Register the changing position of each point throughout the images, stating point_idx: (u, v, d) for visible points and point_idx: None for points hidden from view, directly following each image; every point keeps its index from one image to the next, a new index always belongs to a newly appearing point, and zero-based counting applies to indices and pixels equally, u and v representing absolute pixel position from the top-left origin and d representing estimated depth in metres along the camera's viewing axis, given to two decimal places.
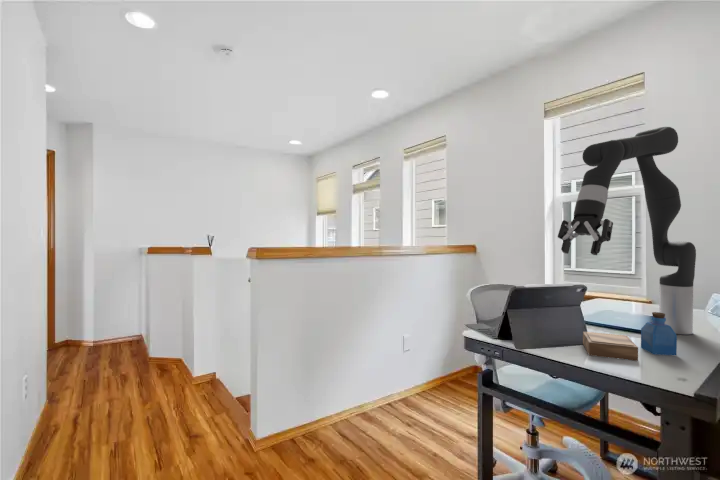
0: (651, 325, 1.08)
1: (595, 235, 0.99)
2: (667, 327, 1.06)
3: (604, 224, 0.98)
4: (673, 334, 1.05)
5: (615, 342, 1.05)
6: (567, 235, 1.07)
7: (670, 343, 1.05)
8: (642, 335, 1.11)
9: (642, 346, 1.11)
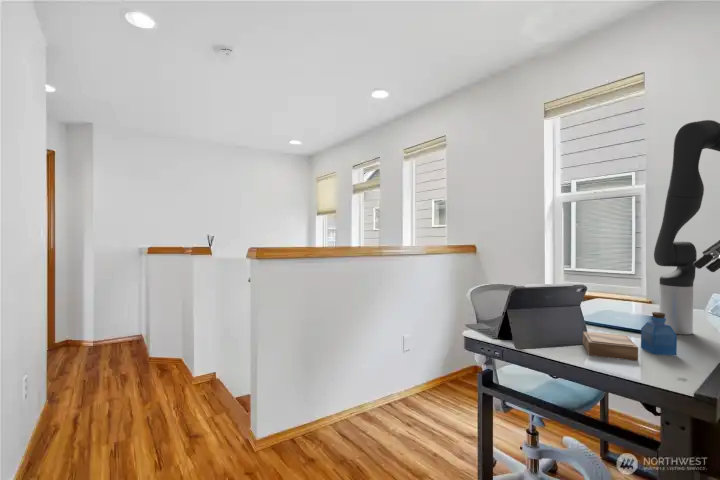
0: (651, 325, 1.08)
1: None
2: (667, 327, 1.06)
3: None
4: (673, 334, 1.05)
5: (615, 342, 1.05)
6: None
7: (670, 343, 1.05)
8: (642, 335, 1.11)
9: (642, 346, 1.11)
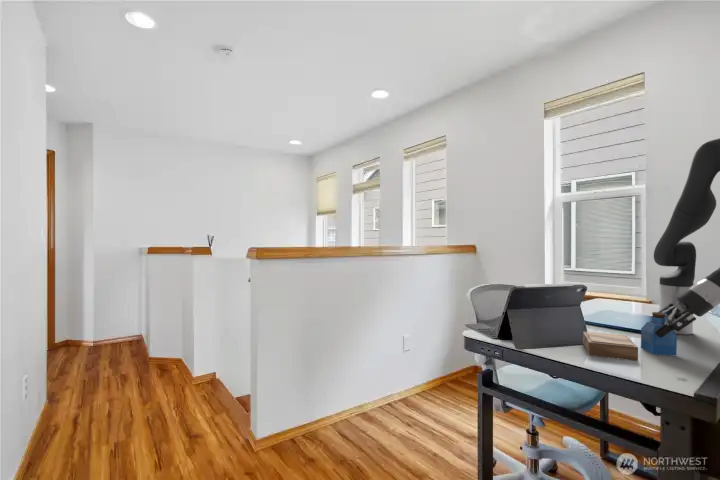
0: (651, 325, 1.08)
1: None
2: None
3: None
4: (673, 334, 1.05)
5: (615, 342, 1.05)
6: None
7: (670, 343, 1.05)
8: (642, 335, 1.11)
9: (642, 346, 1.11)
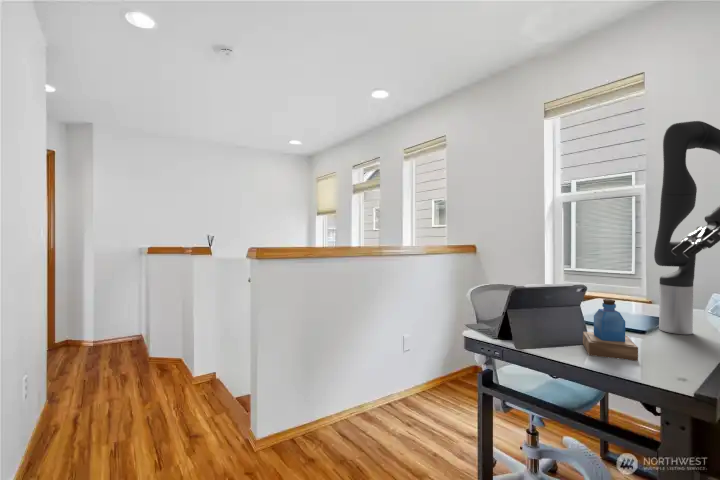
0: (601, 312, 1.09)
1: None
2: (616, 313, 1.06)
3: None
4: (622, 320, 1.05)
5: (615, 342, 1.05)
6: None
7: (619, 330, 1.05)
8: (594, 322, 1.12)
9: (594, 333, 1.12)
